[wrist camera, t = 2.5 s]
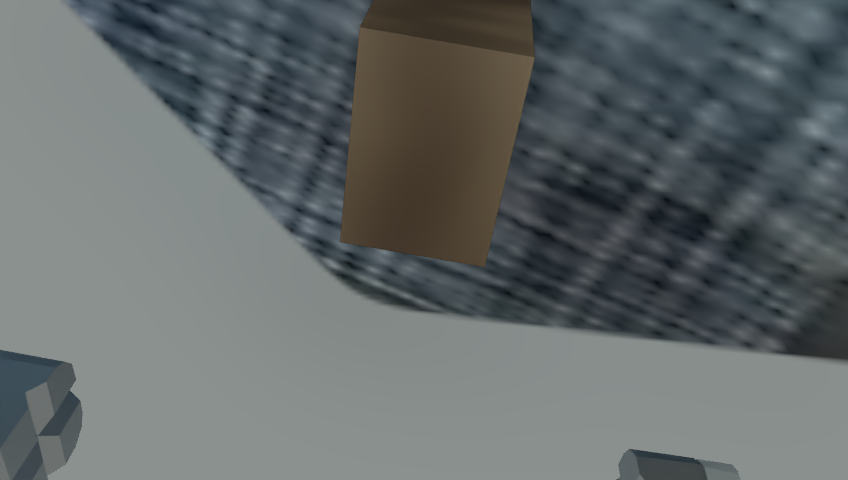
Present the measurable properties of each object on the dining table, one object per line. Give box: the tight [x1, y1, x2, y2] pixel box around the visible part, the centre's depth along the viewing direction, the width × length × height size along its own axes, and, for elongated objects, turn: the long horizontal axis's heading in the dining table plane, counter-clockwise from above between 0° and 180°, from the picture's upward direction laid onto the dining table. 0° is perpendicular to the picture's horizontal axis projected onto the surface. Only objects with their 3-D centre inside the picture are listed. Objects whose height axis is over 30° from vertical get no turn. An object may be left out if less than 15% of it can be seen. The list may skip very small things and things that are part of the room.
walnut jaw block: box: [340, 0, 535, 267], centre depth 21 cm, size 4×6×8 cm, turn 172°
